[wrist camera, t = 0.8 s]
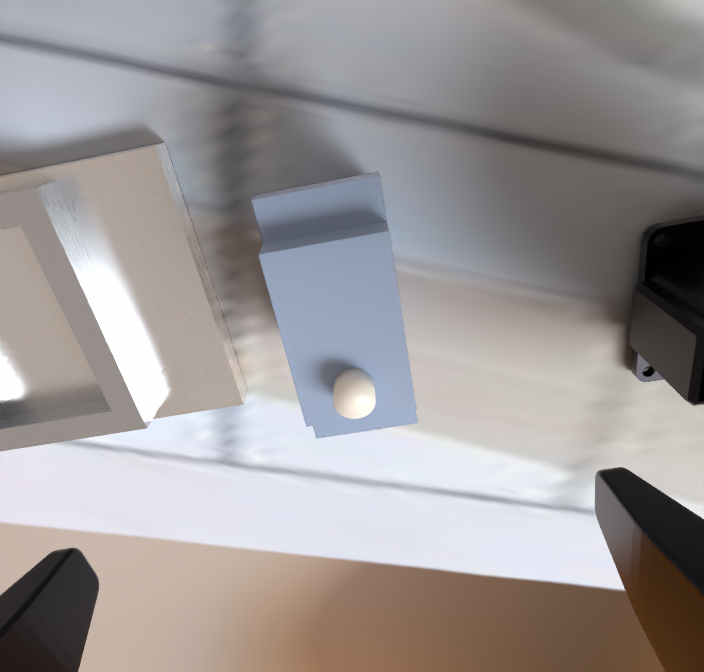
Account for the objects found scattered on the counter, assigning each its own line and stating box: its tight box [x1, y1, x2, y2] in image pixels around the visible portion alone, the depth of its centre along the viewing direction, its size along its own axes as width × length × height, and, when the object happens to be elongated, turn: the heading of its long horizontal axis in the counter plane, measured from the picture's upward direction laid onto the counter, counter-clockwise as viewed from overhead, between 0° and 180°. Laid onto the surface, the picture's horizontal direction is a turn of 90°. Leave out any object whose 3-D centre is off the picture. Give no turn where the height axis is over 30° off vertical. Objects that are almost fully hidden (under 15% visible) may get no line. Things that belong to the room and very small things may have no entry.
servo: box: [251, 172, 418, 438], centre depth 16 cm, size 8×3×6 cm, turn 10°
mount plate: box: [0, 143, 248, 451], centre depth 19 cm, size 12×10×2 cm
